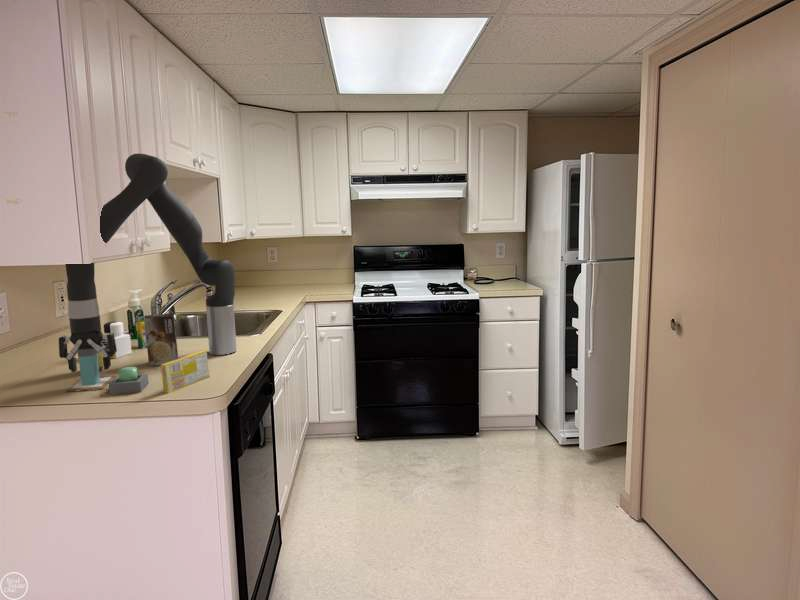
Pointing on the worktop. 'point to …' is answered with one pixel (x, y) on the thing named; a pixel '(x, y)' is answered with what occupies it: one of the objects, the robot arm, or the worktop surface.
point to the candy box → (184, 371)
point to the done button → (128, 374)
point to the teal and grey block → (88, 366)
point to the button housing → (128, 385)
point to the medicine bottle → (117, 339)
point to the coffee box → (160, 338)
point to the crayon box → (141, 333)
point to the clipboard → (100, 385)
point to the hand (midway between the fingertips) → (90, 370)
